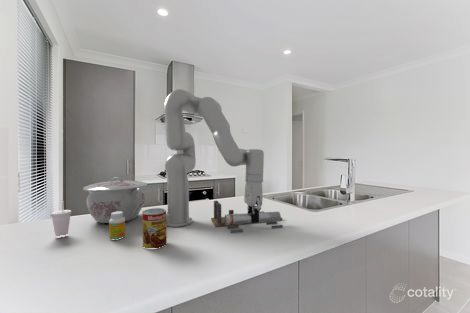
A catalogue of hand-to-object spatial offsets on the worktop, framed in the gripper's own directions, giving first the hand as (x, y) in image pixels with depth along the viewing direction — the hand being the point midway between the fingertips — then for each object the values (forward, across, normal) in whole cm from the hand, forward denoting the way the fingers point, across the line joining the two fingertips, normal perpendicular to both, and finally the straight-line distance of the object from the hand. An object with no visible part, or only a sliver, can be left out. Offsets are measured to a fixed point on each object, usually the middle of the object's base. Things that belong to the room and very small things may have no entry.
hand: (253, 220), depth 96 cm
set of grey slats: (+3, 0, +1) cm, 3 cm away
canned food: (+4, +6, -39) cm, 40 cm away
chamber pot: (+5, -30, -58) cm, 66 cm away
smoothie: (+6, -12, -74) cm, 75 cm away
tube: (+1, 0, 0) cm, 1 cm away
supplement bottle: (+5, -4, -53) cm, 54 cm away
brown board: (+3, -10, +1) cm, 11 cm away
